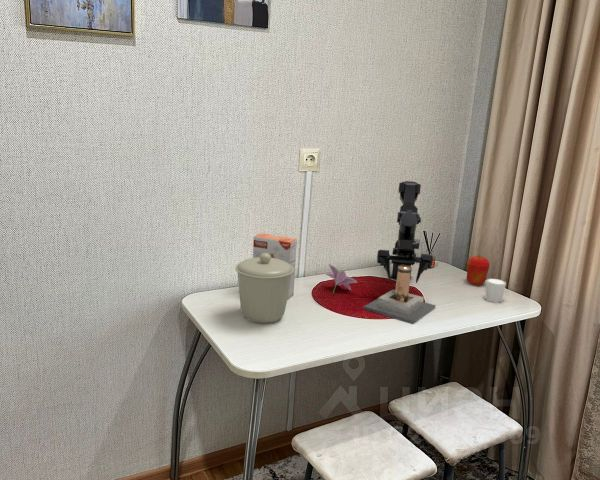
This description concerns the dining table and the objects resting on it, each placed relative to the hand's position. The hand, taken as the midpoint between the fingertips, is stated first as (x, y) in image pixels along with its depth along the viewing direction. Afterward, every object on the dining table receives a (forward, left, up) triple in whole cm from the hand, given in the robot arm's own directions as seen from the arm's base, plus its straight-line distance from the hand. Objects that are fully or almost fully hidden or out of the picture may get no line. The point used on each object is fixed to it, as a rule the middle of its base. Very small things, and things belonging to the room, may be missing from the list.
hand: (402, 281), depth 195 cm
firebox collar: (+1, -2, -9) cm, 9 cm away
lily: (-24, -1, -9) cm, 26 cm away
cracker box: (-39, -21, -9) cm, 45 cm away
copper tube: (+1, -2, -8) cm, 8 cm away
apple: (+12, +43, -9) cm, 46 cm away
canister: (-29, -39, -9) cm, 49 cm away
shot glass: (+23, +30, -9) cm, 39 cm away
